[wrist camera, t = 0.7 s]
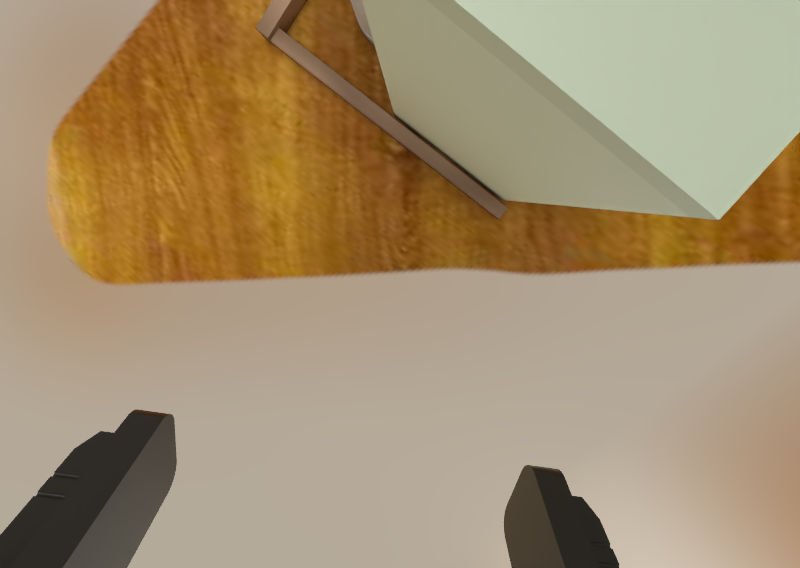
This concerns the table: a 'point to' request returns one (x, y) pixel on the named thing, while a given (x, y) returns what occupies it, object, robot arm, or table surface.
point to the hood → (598, 95)
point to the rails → (366, 102)
